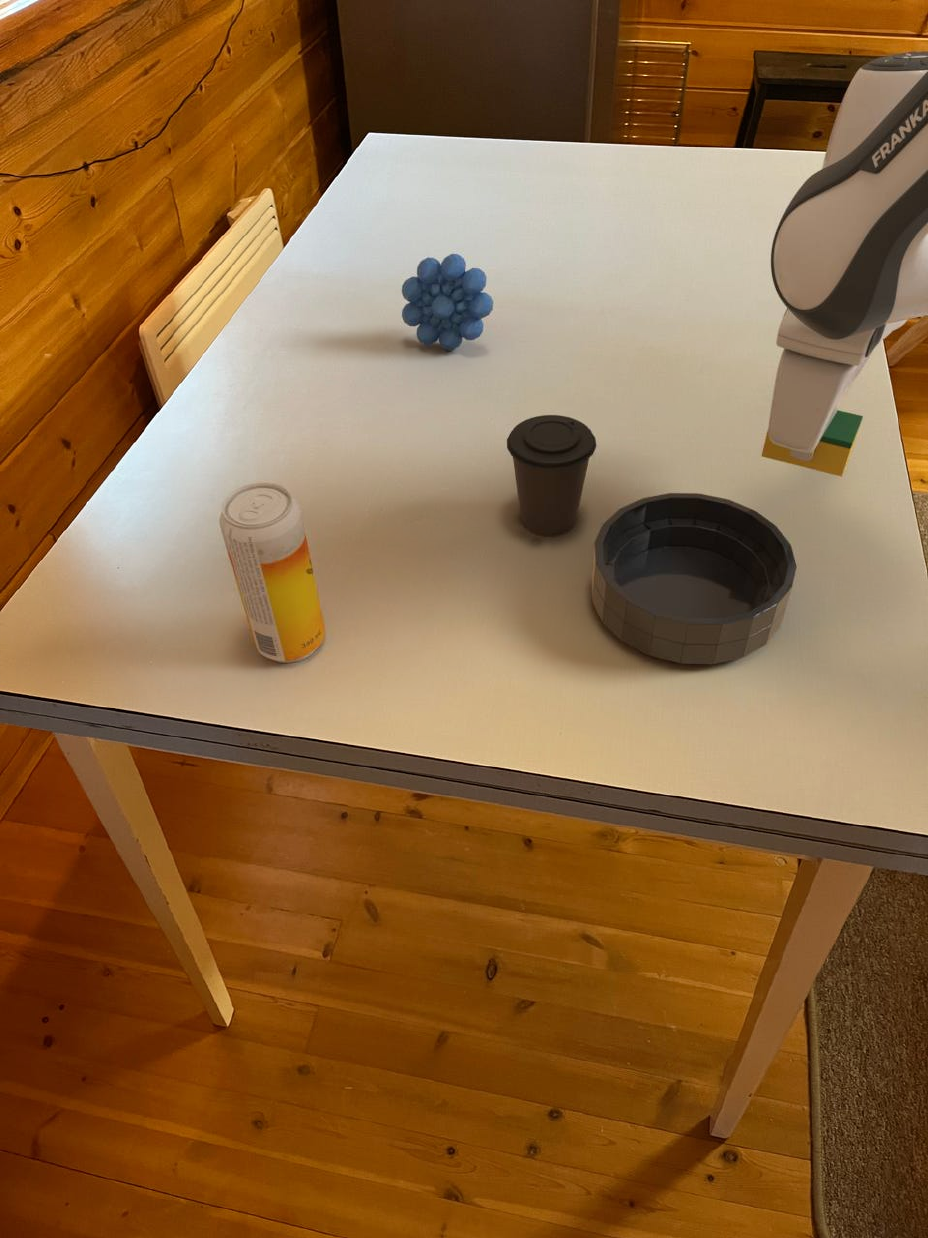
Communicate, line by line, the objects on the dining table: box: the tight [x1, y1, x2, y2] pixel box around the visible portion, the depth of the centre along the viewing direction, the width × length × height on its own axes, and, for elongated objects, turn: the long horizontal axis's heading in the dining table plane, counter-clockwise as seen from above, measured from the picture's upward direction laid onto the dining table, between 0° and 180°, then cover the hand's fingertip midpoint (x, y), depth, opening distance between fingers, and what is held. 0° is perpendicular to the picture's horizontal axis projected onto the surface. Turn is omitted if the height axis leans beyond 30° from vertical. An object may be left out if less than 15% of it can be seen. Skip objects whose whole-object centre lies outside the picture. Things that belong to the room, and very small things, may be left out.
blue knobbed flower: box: [401, 253, 494, 351], centre depth 110 cm, size 12×7×12 cm, turn 70°
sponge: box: [761, 409, 864, 477], centre depth 81 cm, size 7×4×4 cm, turn 62°
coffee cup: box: [506, 414, 597, 537], centre depth 86 cm, size 8×8×10 cm
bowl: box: [591, 492, 798, 665], centre depth 79 cm, size 16×16×6 cm
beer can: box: [218, 481, 326, 664], centre depth 74 cm, size 6×6×15 cm
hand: (812, 437), depth 81 cm, fingers closed on sponge, 4 cm apart
